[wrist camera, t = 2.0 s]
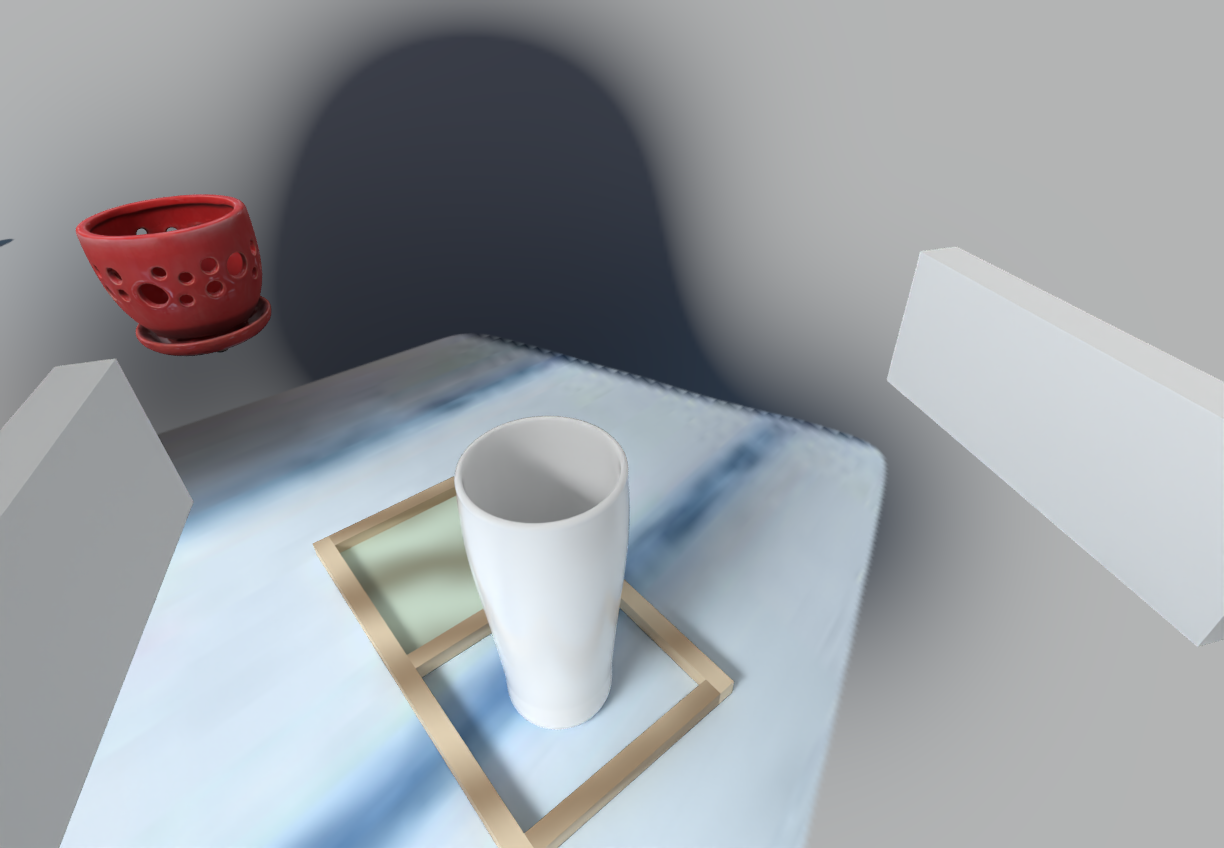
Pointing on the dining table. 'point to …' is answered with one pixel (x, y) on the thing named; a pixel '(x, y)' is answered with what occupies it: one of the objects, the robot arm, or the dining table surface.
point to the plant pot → (181, 271)
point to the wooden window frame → (455, 620)
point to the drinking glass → (548, 558)
